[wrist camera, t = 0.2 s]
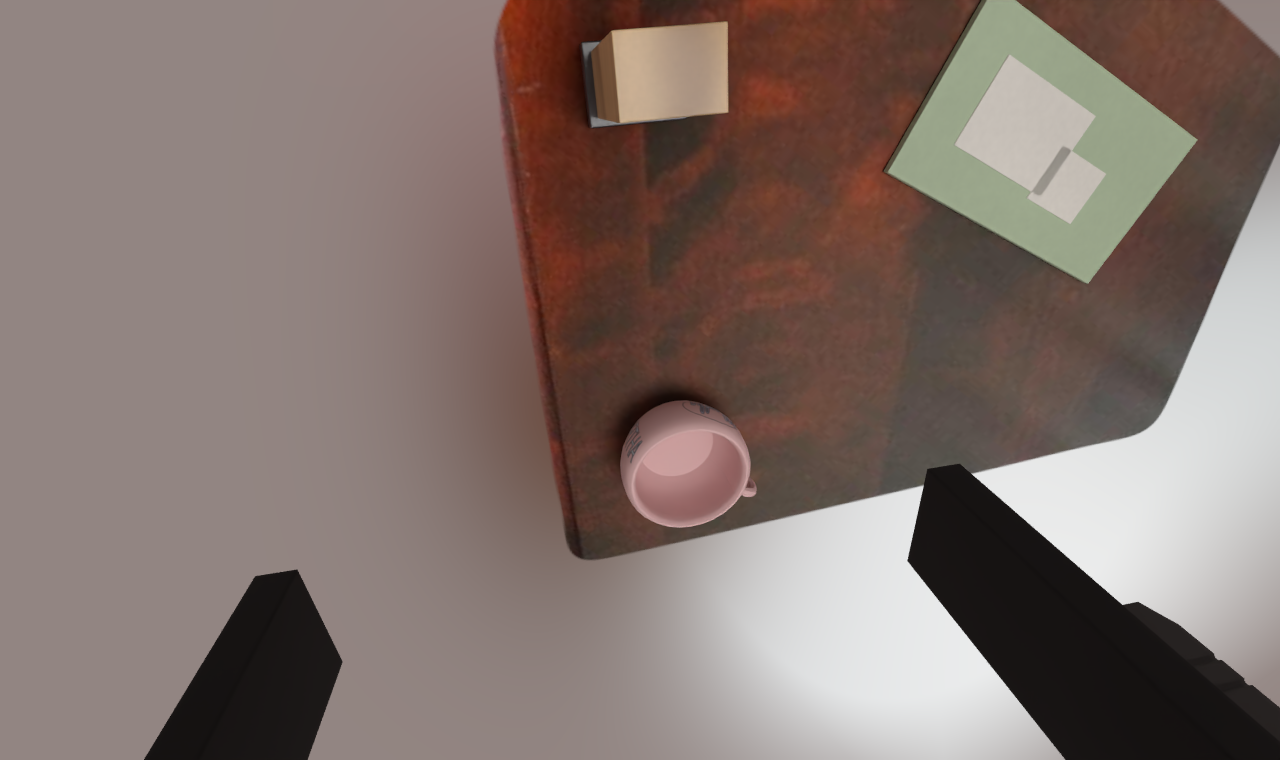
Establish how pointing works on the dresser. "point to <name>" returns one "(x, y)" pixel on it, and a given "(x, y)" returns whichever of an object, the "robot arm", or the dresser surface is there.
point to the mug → (685, 464)
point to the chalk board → (1038, 142)
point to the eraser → (656, 74)
